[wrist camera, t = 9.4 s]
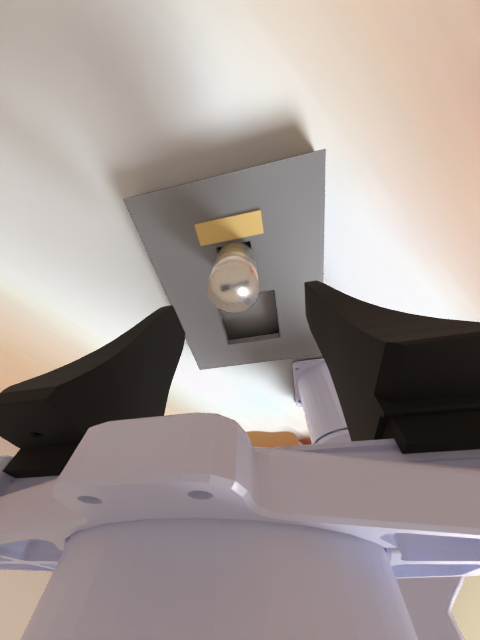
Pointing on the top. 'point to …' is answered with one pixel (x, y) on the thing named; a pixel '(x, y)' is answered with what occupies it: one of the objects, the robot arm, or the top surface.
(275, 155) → the top surface
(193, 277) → the keyhole plate
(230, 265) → the keyhole peg
